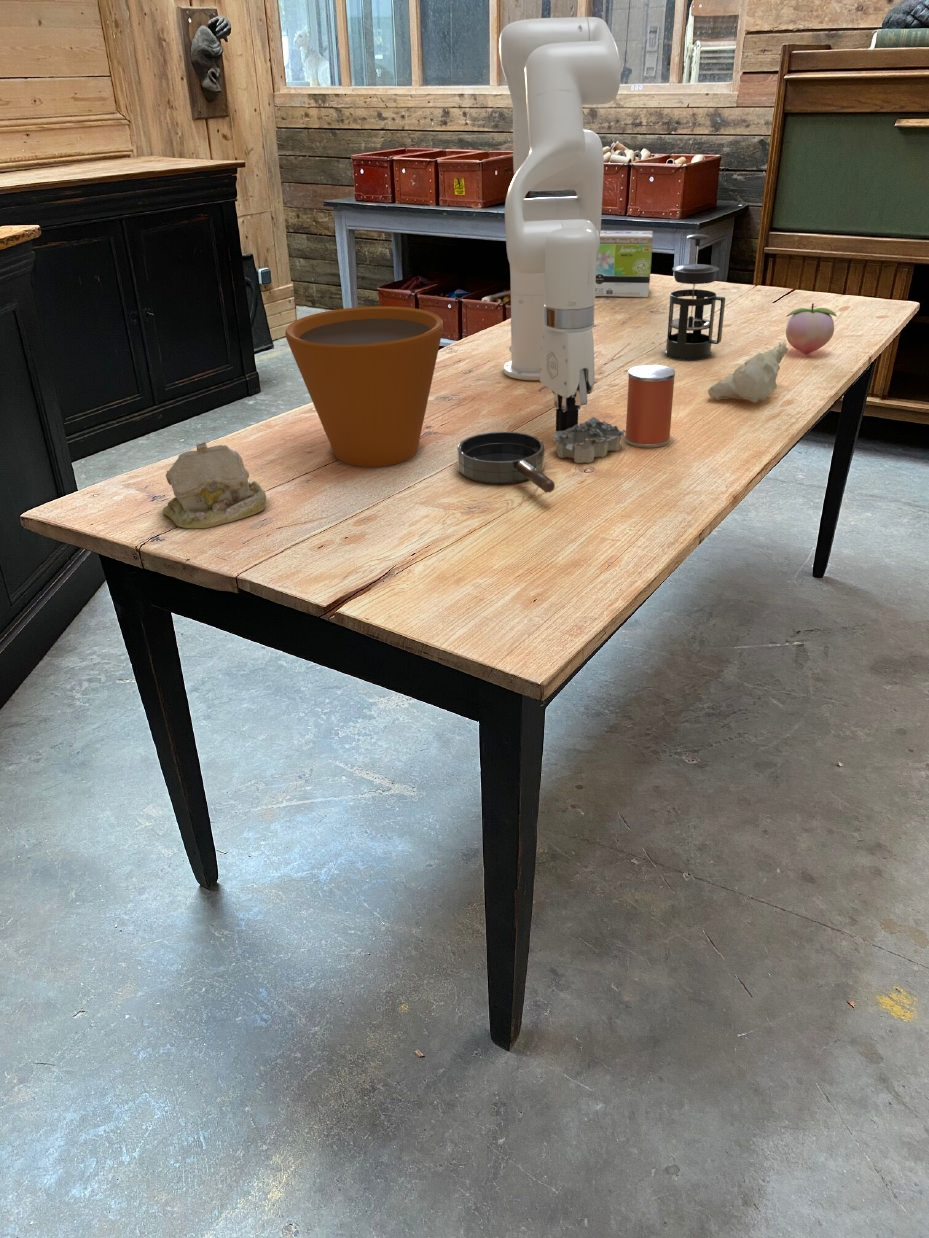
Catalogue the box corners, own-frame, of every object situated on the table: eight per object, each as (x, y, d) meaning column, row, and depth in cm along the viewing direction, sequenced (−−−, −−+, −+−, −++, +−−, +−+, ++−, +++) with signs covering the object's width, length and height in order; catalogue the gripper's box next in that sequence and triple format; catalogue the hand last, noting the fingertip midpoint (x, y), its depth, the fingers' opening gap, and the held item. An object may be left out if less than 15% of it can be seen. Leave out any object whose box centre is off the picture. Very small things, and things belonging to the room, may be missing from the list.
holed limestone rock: (727, 424, 162) (805, 369, 156) (703, 390, 162) (780, 333, 156) (734, 423, 176) (805, 373, 170) (711, 391, 176) (782, 340, 170)
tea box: (589, 298, 240) (591, 236, 233) (591, 289, 249) (593, 230, 241) (649, 298, 238) (653, 235, 230) (649, 289, 247) (652, 229, 239)
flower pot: (286, 439, 158) (268, 318, 147) (418, 416, 165) (410, 299, 155) (325, 489, 139) (308, 353, 128) (472, 460, 146) (467, 330, 136)
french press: (654, 357, 192) (662, 237, 180) (671, 346, 199) (681, 229, 187) (709, 364, 186) (722, 241, 175) (725, 352, 193) (738, 233, 181)
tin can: (616, 437, 153) (620, 369, 147) (653, 430, 155) (658, 362, 150) (640, 451, 147) (644, 380, 142) (678, 443, 150) (684, 373, 144)
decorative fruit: (824, 348, 193) (832, 298, 188) (833, 359, 186) (842, 307, 181) (777, 348, 194) (784, 298, 189) (785, 359, 187) (792, 308, 182)
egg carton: (583, 467, 143) (583, 441, 141) (547, 454, 148) (547, 429, 145) (629, 448, 149) (630, 423, 146) (593, 436, 153) (594, 412, 151)
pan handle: (514, 471, 136) (514, 459, 135) (525, 469, 137) (525, 457, 136) (545, 495, 129) (545, 483, 128) (557, 493, 129) (557, 480, 128)
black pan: (445, 462, 146) (444, 440, 144) (520, 448, 150) (520, 426, 148) (479, 491, 136) (478, 468, 134) (559, 475, 140) (559, 452, 138)
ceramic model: (171, 535, 127) (155, 466, 122) (159, 505, 136) (144, 439, 130) (273, 515, 131) (262, 447, 126) (255, 487, 140) (245, 422, 135)
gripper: (525, 309, 147) (525, 422, 156) (571, 331, 135) (568, 451, 145) (567, 303, 149) (565, 415, 159) (616, 324, 137) (610, 443, 147)
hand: (566, 432), depth 152 cm, fingers closed
